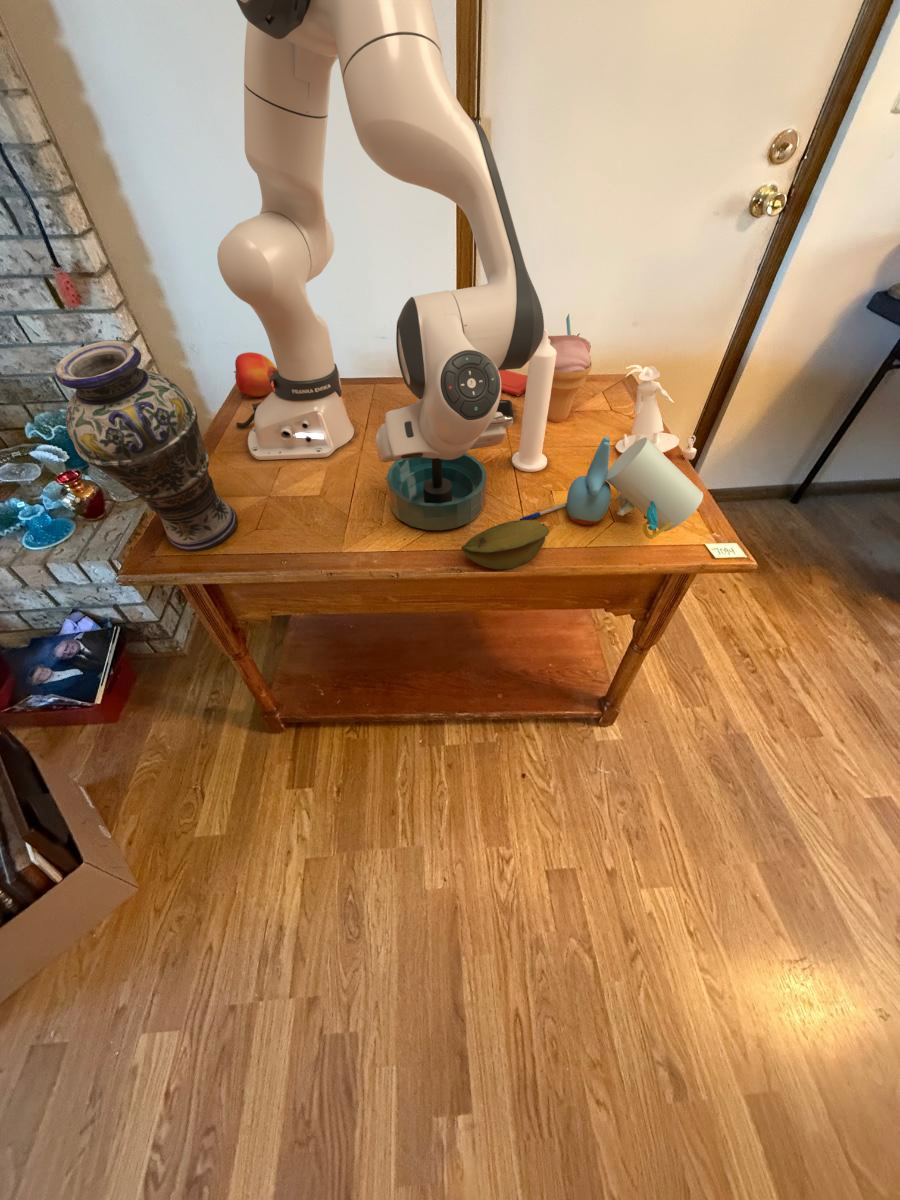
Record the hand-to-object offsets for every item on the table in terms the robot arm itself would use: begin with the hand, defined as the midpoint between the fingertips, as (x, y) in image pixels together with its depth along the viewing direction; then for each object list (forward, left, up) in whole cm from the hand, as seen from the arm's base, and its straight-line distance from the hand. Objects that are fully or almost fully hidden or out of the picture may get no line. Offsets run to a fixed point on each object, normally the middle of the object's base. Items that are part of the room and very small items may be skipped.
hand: (434, 450), depth 84 cm
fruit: (+8, -17, -11) cm, 22 cm away
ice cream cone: (+33, +23, -11) cm, 42 cm away
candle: (+21, +7, -11) cm, 25 cm away
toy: (+25, -12, +5) cm, 28 cm away
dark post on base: (0, -1, -10) cm, 10 cm away
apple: (-27, +53, -7) cm, 60 cm away
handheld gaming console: (+32, +37, -10) cm, 50 cm away
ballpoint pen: (+18, -9, -9) cm, 22 cm away
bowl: (0, -1, -10) cm, 10 cm away
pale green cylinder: (+29, -11, 0) cm, 31 cm away
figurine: (+47, +3, -12) cm, 49 cm away
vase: (-42, +3, -10) cm, 43 cm away
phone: (+17, +29, -10) cm, 35 cm away
